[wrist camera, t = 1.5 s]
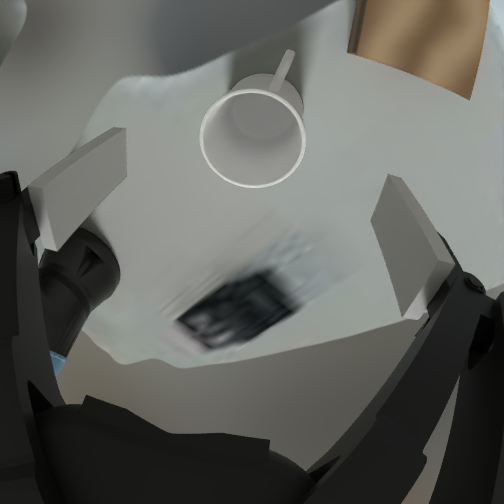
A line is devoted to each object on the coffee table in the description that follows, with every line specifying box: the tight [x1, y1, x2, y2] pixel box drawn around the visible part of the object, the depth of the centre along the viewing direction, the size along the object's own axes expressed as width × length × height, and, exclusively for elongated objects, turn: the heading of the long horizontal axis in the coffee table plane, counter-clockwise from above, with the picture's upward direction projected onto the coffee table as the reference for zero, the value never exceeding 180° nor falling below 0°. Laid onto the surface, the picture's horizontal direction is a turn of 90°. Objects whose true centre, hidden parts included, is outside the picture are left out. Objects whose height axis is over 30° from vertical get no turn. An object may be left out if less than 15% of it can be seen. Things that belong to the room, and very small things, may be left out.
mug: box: [200, 49, 306, 188], centre depth 26 cm, size 12×8×12 cm
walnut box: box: [347, 0, 490, 100], centre depth 20 cm, size 12×12×6 cm
